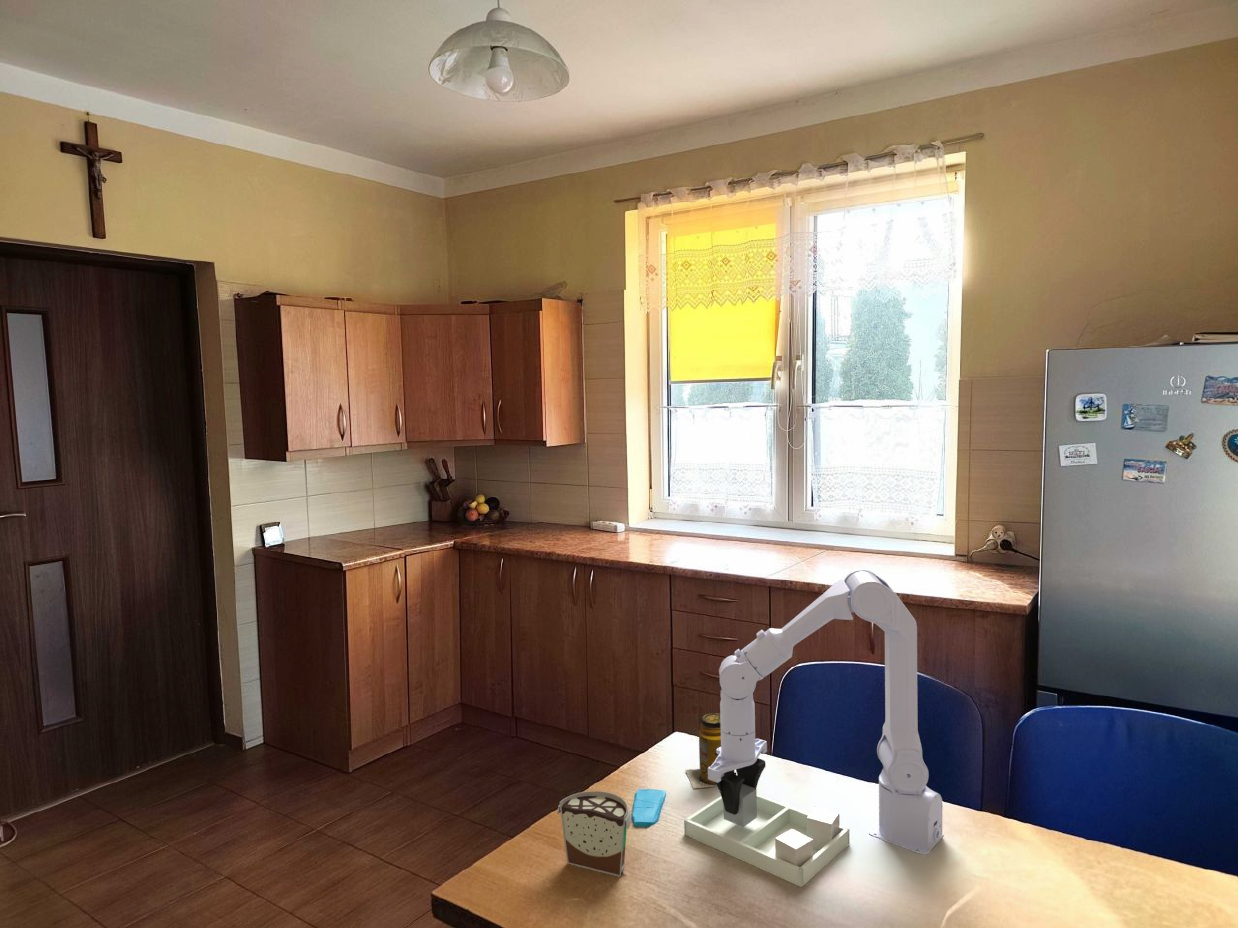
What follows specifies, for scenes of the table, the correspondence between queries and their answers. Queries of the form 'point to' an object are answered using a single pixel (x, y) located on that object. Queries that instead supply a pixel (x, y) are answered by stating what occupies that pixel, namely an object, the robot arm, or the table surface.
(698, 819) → the tray
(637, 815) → the sponge
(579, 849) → the food container
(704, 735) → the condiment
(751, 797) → the grey rectangular block
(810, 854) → the white block
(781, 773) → the table surface
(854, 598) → the robot arm
